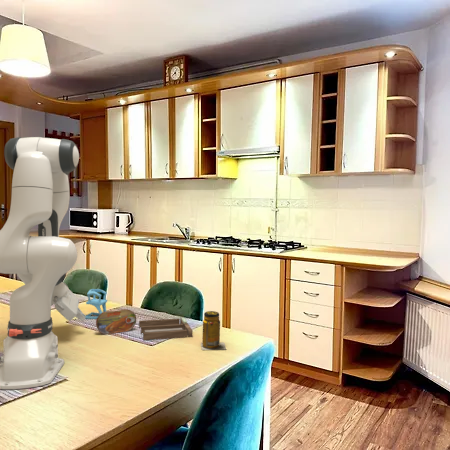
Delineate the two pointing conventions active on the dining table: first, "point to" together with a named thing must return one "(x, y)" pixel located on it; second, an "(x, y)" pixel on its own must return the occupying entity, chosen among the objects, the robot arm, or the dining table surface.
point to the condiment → (211, 332)
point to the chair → (96, 302)
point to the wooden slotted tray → (165, 329)
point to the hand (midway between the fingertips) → (84, 318)
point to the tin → (116, 321)
